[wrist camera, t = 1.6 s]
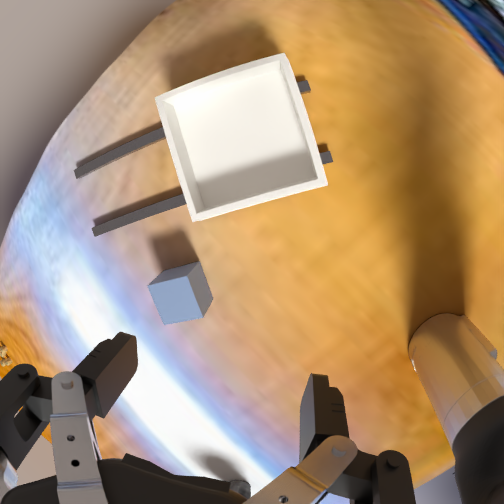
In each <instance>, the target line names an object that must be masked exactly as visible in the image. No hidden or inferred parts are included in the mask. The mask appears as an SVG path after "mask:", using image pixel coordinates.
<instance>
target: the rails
mask: <svg viewBox="0 0 504 504" xmlns="http://www.w3.org/2000/svg"><path fill="white" fill-rule="evenodd" d="M297 85H298V88H299V91H300V94H305V93H309V92H310V91H311V89H310V87H309V84H308V81H307V80H306V81H301V82H297ZM163 139H166V135H165V132H164V129H163V127H161V128H159V129H157V130H154V131H152V132H150V133H148V134H145V135H143V136H141V137H139V138H136V139H134V140H132V141H130V142H128V143H126V144H124V145H122V146H119V147H117V148H115V149H113V150H111V151H109V152H107V153H105V154H103V155H101V156H99V157H97V158H96V159H94V160H92V161H90V162H88V163H86V164H84V165H82V166H81V167H79V168H77V169H75V170H74V172H75V176H76V179H78V178H82V177H84V176H86V175H87V174H89V173H91V172H93V171H95V170H97V169H99V168H101V167H103V166H105V165H107V164H109V163H112V162H114V161H116V160H118V159H120V158H122V157H124V156H126V155H129V154H131V153H133V152H135V151H137V150H140V149H142V148H144V147H147V146H149V145H151V144H154V143H156V142H158V141H161V140H163ZM319 154H320V158H321V161H322V164H326V163H330V162H333V160H332V156H331V153H330V151H327V152H323V153H319ZM185 204H187V203H186V200H185V197H184V194H181V195H178V196H175V197H172V198H169V199H167V200H164V201H161V202H158V203H155V204H153V205H150V206H147V207H144V208H142V209H139V210H136V211H134V212H131V213H128V214H126V215H123V216H121V217H118V218H115V219H113V220H110V221H108V222H105V223H103V224H100V225H98V226H95V227H93V228H92V230H93V233H94V236H98V235H101V234H103V233H106V232H108V231H111V230H114V229H116V228H119V227H122V226H125V225H127V224H130V223H133V222H136V221H138V220H141V219H144V218H147V217H150V216H152V215H155V214H158V213H161V212H164V211H167V210H170V209H173V208H176V207H179V206H182V205H185Z"/></svg>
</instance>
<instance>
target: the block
mask: <svg viewBox="0 0 504 504" xmlns="http://www.w3.org/2000/svg"><path fill="white" fill-rule="evenodd" d="M148 288H149V291H150V293H151V296H152V298H153V301H154V303H155V305H156V308H157V310H158V312H159V315H160V317H161V319H162V321H163V324H164V325H167V324H172V323H178V322H183V321H188V320H194V319H199V318H203V317H204V315H205V313H206V311H207V310H208V308H209V306H210V304H211V302H212V300H213V297H212V294H211V291H210V288H209V286H208V283H207V280H206V277H205V275H204V272H203V269H202V266H201V263H200V261H198V262H195V263H191V264H187V265H183V266H179V267H176V268H172V269H168V270H164V271H163V272H162V273H161V274H159V275H158V276H157V277H156V278H155V279H154V280H153V281H152V282H151V283H150V284H149V285H148Z"/></svg>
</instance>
